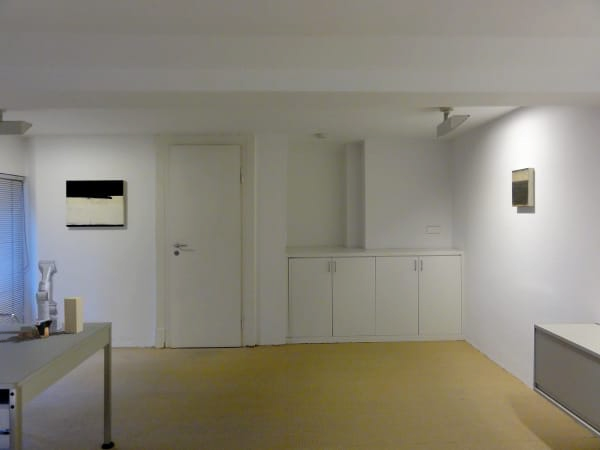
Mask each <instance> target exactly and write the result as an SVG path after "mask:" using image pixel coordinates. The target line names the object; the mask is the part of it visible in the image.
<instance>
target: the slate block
mask: <svg viewBox="0 0 600 450" xmlns="http://www.w3.org/2000/svg"><path fill="white" fill-rule="evenodd" d="M35 324H36V323H25V324H24V325H22V326H20V332H21V333H23V332H33V331H35V330H37V327H36V326H35Z"/></svg>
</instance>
